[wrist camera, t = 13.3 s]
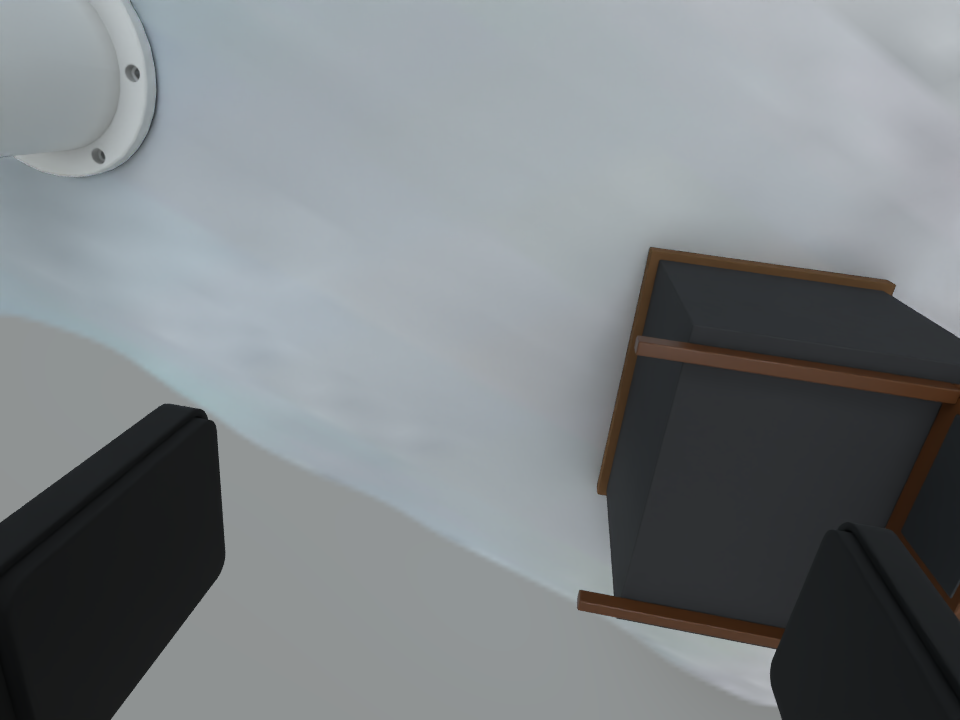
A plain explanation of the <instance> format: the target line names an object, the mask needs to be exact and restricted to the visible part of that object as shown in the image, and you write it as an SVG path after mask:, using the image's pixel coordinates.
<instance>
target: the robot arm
mask: <svg viewBox="0 0 960 720" xmlns="http://www.w3.org/2000/svg"><path fill="white" fill-rule="evenodd" d="M139 73H140V74H139ZM155 100H156V74H155V66H154V61H153V57H152V52H151V47H150V44H149V41H148V39H147V36H146V33H145V31H144V28H143V25H142V23H141V21H140V19H139V17H138V15H137V13H136V12H135V10H134V8H133V6H132V4H131V2H130V1H129V0H0V157H7V156H13V157H14V158H16V159H18V160H19V161H21V162H22V163H24V164H26V165H28V166H30V167H32V168H35V169H37V170H39V171H41V172H44V173H48V174H52V175H57V176H61V177H84V176H91V175H97V174H100V173H103V172H106V171H110V170H113V169H114V168H116V167H117V166H119V165H121V164H122V163H124V162H125V161H127V160H128V159H129V158H130V157H131V156H132V155H133V154H134V153H135V151H136V150H137V149H138V148H139V147H140V145H141V143H142V142H143V140H144V138H145V136H146V135H147V133H148V130H149V127H150V124H151V121H152V118H153V115H154V109H155ZM224 561H225V543H224V528H223V513H222V499H221V485H220V471H219V456H218V442H217V430H216V425H215V423H214V422H213V421H212V420H208V417H207V415H206V413H205V412H204V411H203V410H202V409H197V408H190V407H185V406H179V405H174V404H163V405H161V406H159V407H158V408H157V409H155V410H154V411H152V412H151V413H150V414H148V415H147V416H146V417H145V418H143V419H142V420H140V421H139V422H137V423H136V424H135V425H133V426H132V427H131V428H129V429H128V430H126V431H125V432H124V433H122V434H121V435H120V436H118V437H117V438H116V439H114V440H113V441H111V442H110V443H109V444H108V445H106V446H105V447H103V448H102V449H100V450H99V451H98V452H96V453H95V454H94V455H92V456H91V457H90V458H88V459H87V460H85V461H84V462H83V463H81V464H80V465H79V466H77V467H76V468H74V469H73V470H72V471H70V472H69V473H68V474H66V475H65V476H63V477H62V478H61V479H60V480H58V481H57V482H55V483H54V484H53V485H51V486H50V487H48V488H47V489H46V490H44V491H43V492H42V493H40V494H39V495H37V496H36V497H35V498H33V499H32V500H31V501H29V502H28V503H27V504H25V505H24V506H22V507H21V508H20V509H18V510H17V511H16V512H14V513H13V514H11V515H10V516H9V517H8V518H6V519H5V520H3V521H2V522H1V523H0V720H111V718H112V717H113V716H114V714H115V713H116V712H117V710H118V709H119V708H120V706H121V705H122V704H123V703H124V701H125V700H126V698H127V697H128V696H129V695H130V693H131V692H132V691H133V689H134V688H135V687H136V685H137V684H138V683H139V681H140V680H141V679H142V677H143V676H144V675H145V673H146V672H147V671H148V669H149V668H150V667H151V665H152V664H153V663H154V661H155V660H156V659H157V657H158V656H159V655H160V653H161V652H162V651H163V650H164V648H165V647H166V646H167V644H168V643H169V642H170V640H171V639H172V638H173V636H174V635H175V633H176V632H177V631H178V630H179V628H180V627H181V626H182V624H183V623H184V622H185V620H186V619H187V618H188V616H189V615H190V614H191V612H192V611H193V610H194V608H195V607H196V606H197V604H198V603H199V602H200V601H201V599H202V598H203V596H204V595H205V594H206V593H207V591H208V590H209V589H210V587H211V586H212V585H213V583H214V582H215V580H216V579H217V578H218V576H219V574H220V573H221V570H222V567H223V565H224ZM770 680H771V686H772V690H773V693H774V696H775V699H776V702H777V705H778V708H779V711H780V714H781V718H782V720H960V621H959V619H958V618H957V617H956V615H955V614H954V613H953V611H952V610H951V609H950V607H949V606H948V604H947V603H946V602H945V600H944V599H943V598H942V596H941V595H940V594H939V592H938V591H937V589H936V588H935V587H934V585H933V584H932V583H931V581H930V580H929V579H928V577H927V576H926V574H925V573H924V572H923V570H922V569H921V568H920V566H919V565H918V564H917V562H916V561H915V559H914V558H913V557H912V555H911V554H910V553H909V551H908V550H907V549H906V547H905V546H904V545H903V543H902V542H901V540H900V539H899V538H898V536H897V535H896V534H895V533H894V532H893V531H892V530H889V529H886V528H880V527H875V526H869V525H863V524H857V523H852V522H845V523H843V524H841V525H840V526H839V527H838V529H837V530H833V529H832V530H828V531H827V532H826V533H825V535H824V537H823V539H822V541H821V544H820V546H819V549H818V551H817V553H816V556H815V558H814V561H813V563H812V566H811V568H810V570H809V573H808V575H807V578H806V580H805V582H804V585H803V587H802V590H801V592H800V594H799V597H798V599H797V602H796V604H795V606H794V609H793V611H792V614H791V616H790V619H789V621H788V623H787V626H786V628H785V631H784V633H783V635H782V638H781V640H780V643H779V645H778V647H777V650H776V652H775V655H774V657H773V660H772V663H771V669H770Z"/></svg>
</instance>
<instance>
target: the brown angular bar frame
mask: <svg viewBox="0 0 960 720" xmlns="http://www.w3.org/2000/svg"><path fill="white" fill-rule="evenodd" d="M634 348H635V353H636V355H639V356H646V357H652V358H658V359H665V360H671V361H678V362H684V363H691V364H697V365H704V366H710V367H717V368H723V369H729V370H736V371H742V372H749V373H755V374H762V375H768V376H775V377H781V378H788V379H794V380H800V381H807V382H813V383H820V384H826V385H833V386H839V387H846V388H852V389H859V390H865V391H871V392H878V393H884V394H891V395H897V396H904V397H910V398H917V399H923V400H930V401H936V402H942V403H943V404H942V406H941V408H940V410H939V412H938V415H937V417H936V419H935V421H934V423H933V425H932V428H931V430H930V432H929V434H928V436H927V438H926V441H925V443H924V445H923V447H922V449H921V452H920V454H919V456H918V458H917V460H916V462H915V465H914V467H913V469H912V471H911V473H910V475H909V478H908V480H907V482H906V484H905V486H904V488H903V491H902V493H901V495H900V497H899V499H898V501H897V504H896V506H895V508H894V510H893V512H892V514H891V517H890V519H889V521H888V523H887V525H886V527H885V528H886V529H889V530H892V531H893V532H894V533H895V534H896V535H897V536H898V538H899V539H900V540H901V542H902V543H903V545H904V546H905V547H906V549H907V550H908V551H909V553H910V554H911V555H912V557H913V558H914V559H915V561H916V562H917V564H918V565H919V566H920V568H921V569H922V570H923V572H924V573H925V574H926V576H927V577H928V579H929V580H930V581H931V583H932V584H933V585H934V587H935V588H936V589H937V591H938V592H939V594H940V595H941V596H942V598H943V599H944V600H945V602H946V603H947V604H948V606H949V607H950V609H951V610H952V611H953V613H954V614H955V615H956V617H957V618H958V619H959V621H960V384H951V383H949V382H942V381H935V380H929V379H922V378H916V377H909V376H902V375H896V374H889V373H883V372H876V371H870V370H863V369H856V368H850V367H843V366H837V365H830V364H824V363H817V362H810V361H804V360H797V359H791V358H784V357H778V356H771V355H764V354H758V353H751V352H745V351H738V350H732V349H725V348H718V347H712V346H705V345H699V344H692V343H685V342H679V341H672V340H666V339H659V338H653V337H646V336H639V335H638V336H637V337H636V342H635V346H634ZM577 608H578V610H581V611H586V612H591V613H596V614H601V615H606V616H612V617H617V618H622V619H627V620H632V621H637V622H643V623H648V624H653V625H658V626H663V627H668V628H674V629H679V630H684V631H689V632H694V633H699V634H705V635H710V636H715V637H720V638H725V639H730V640H736V641H741V642H746V643H751V644H756V645H761V646H767V647H772V648H777V647H778V645H779V643H780V640H781V638H782V635H783V633H784V631H785V629H784V628H778V627H773V626H768V625H763V624H757V623H752V622H747V621H741V620H736V619H731V618H726V617H720V616H715V615H710V614H705V613H699V612H694V611H689V610H684V609H678V608H673V607H668V606H663V605H657V604H652V603H647V602H642V601H636V600H631V599H626V598H621V597H615V596H610V595H605V594H600V593H594V592H589V591H584V590H579V593H578V598H577Z"/></svg>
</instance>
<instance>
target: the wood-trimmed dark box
mask: <svg viewBox="0 0 960 720" xmlns="http://www.w3.org/2000/svg"><path fill="white" fill-rule="evenodd" d="M895 287H896V285H895V284H893V283H892V282H890V281H888V280H883V279H876V278H869V277H861V276H854V275H847V274H840V273H833V272H826V271H818V270H811V269H804V268H797V267H790V266H783V265H775V264H768V263H761V262H754V261H747V260H740V259H732V258H725V257H718V256H711V255H704V254H697V253H689V252H682V251H675V250H668V249H661V248H654V247H650V250H649V254H648V259H647V263H646V268H645V272H644V277H643V281H642V286H641V290H640V295H639V299H638V304H637V308H636V313H635V317H634V322H633V326H632V331H631V335H630V340H629V344H628V349H627V353H626V358H625V362H624V367H623V371H622V376H621V380H620V385H619V389H618V394H617V398H616V403H615V407H614V412H613V416H612V421H611V425H610V430H609V434H608V439H607V443H606V448H605V452H604V457H603V461H602V465H601V470H600V474H599V479H598V483H597V493H598V494H600V495H606V496H607V507H608V521H609V534H610V548H611V562H612V575H613V589H614V596H615V597H621V598H626V599H631V600H636V601H642V602H647V603H652V604H657V605H663V606H668V607H673V608H678V609H684V610H689V611H694V612H699V613H705V614H710V615H715V616H720V617H726V618H731V619H736V620H741V621H747V622H752V623H757V624H763V625H768V626H773V627H778V628H784V629H785V628H786V626H787V623H788V621H789V619H790V616H791V614H792V611H793V609H794V606H795V604H796V602H797V599H798V597H799V594H800V592H801V590H802V587H803V585H804V582H805V580H806V578H807V575H808V573H809V570H810V568H811V566H812V563H813V561H814V558H815V556H816V553H817V551H818V549H819V546H820V544H821V541H822V539H823V537H824V535H825V533H826V532H827V531H828V530H832V529H833V530H837V529H838V527H839V526H840V525H841V524H843V523H845V522H852V523H857V524H863V525H869V526H875V527H880V528H885V527H886V525H887V523H888V521H889V519H890V517H891V514H892V512H893V510H894V508H895V506H896V504H897V501H898V499H899V497H900V495H901V493H902V491H903V488H904V486H905V484H906V482H907V480H908V478H909V475H910V473H911V471H912V469H913V467H914V465H915V462H916V460H917V458H918V456H919V454H920V452H921V449H922V447H923V445H924V443H925V441H926V438H927V436H928V434H929V432H930V430H931V428H932V425H933V423H934V421H935V419H936V417H937V415H938V412H939V410H940V408H941V406H942V404H943V403H942V402H936V401H930V400H923V399H917V398H910V397H904V396H897V395H891V394H884V393H878V392H871V391H865V390H859V389H852V388H846V387H839V386H833V385H826V384H820V383H813V382H807V381H800V380H794V379H788V378H781V377H775V376H768V375H762V374H755V373H749V372H742V371H736V370H729V369H723V368H717V367H710V366H704V365H697V364H691V363H684V362H678V361H671V360H665V359H658V358H652V357H646V356H639V355H636V353H635V348H634V346H635V342H636V337H637V336H638V335H639V336H646V337H653V338H659V339H666V340H672V341H679V342H685V343H692V344H699V345H705V346H712V347H718V348H725V349H732V350H738V351H745V352H751V353H758V354H764V355H771V356H778V357H784V358H791V359H797V360H804V361H810V362H817V363H824V364H830V365H837V366H843V367H850V368H856V369H863V370H870V371H876V372H883V373H889V374H896V375H902V376H909V377H916V378H922V379H929V380H935V381H942V382H949V383H951V384H960V338H958V337H957V336H955V335H953V334H952V333H950V332H949V331H947V330H945V329H944V328H942V327H941V326H939V325H937V324H936V323H934V322H932V321H931V320H929V319H928V318H926V317H924V316H923V315H921V314H920V313H918V312H916V311H915V310H913V309H912V308H910V307H908V306H907V305H905V304H904V303H902V302H900V301H899V300H897V299H896V298H894V297H892V294H893V292H894V289H895ZM616 618H617V617H616ZM618 619H622V618H618ZM623 620H627V619H623ZM628 621H632V620H628ZM633 622H637V621H633ZM638 623H643V622H638ZM644 624H648V623H644ZM649 625H653V624H649ZM654 626H658V625H654ZM659 627H663V626H659ZM664 628H668V627H664ZM669 629H674V628H669ZM674 630H679V629H674ZM680 631H684V630H680ZM685 632H689V631H685ZM690 633H694V632H690ZM695 634H699V633H695ZM700 635H705V634H700ZM705 636H710V635H705ZM711 637H715V636H711ZM716 638H720V637H716ZM721 639H725V638H721ZM726 640H730V639H726ZM731 641H736V640H731ZM736 642H741V641H736ZM741 643H746V642H741ZM747 644H751V643H747ZM752 645H756V644H752ZM757 646H761V645H757ZM762 647H767V646H762ZM767 648H772V647H767ZM772 649H777V648H772Z"/></svg>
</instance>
